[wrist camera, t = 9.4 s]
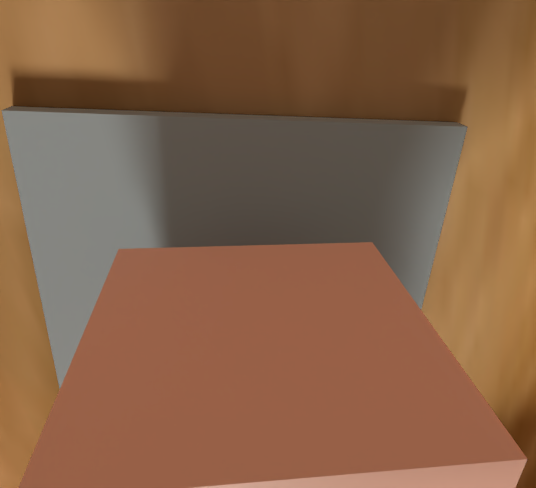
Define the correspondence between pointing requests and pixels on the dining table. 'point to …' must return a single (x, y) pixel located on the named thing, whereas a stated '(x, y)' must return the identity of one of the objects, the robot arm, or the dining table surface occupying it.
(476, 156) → the dining table surface
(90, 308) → the slate mat
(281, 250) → the block
